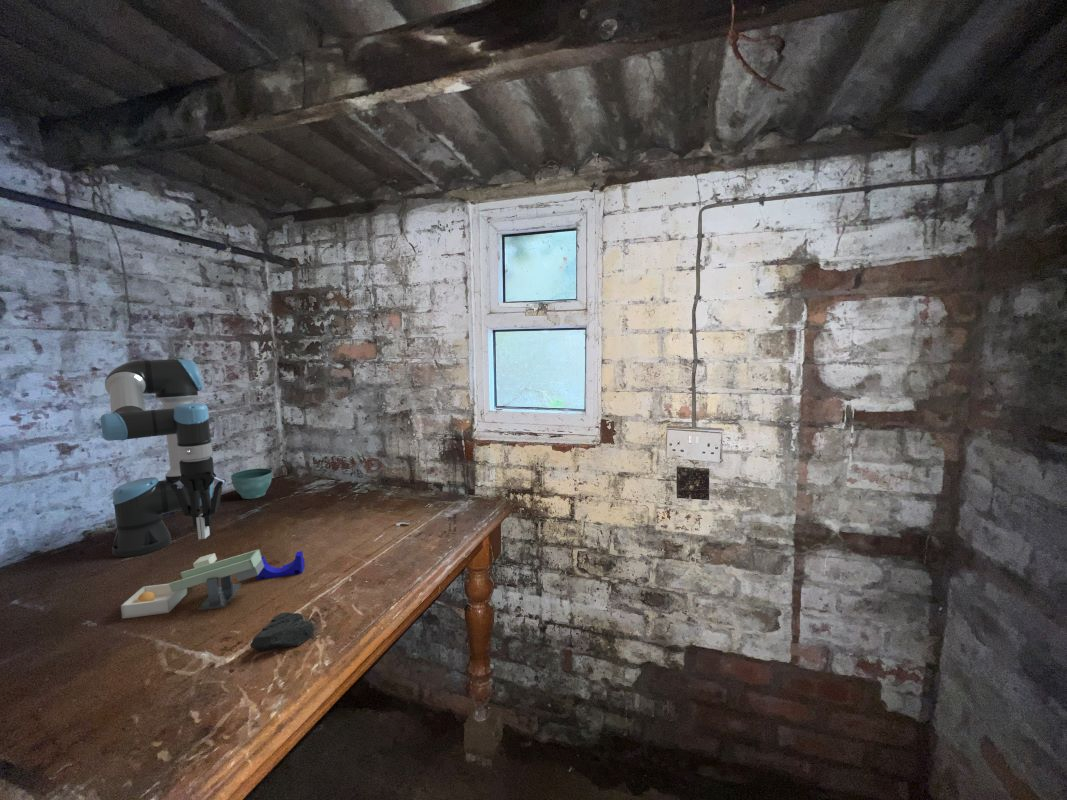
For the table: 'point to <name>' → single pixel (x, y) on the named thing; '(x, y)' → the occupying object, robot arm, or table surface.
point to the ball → (146, 597)
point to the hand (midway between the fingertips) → (204, 536)
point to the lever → (220, 569)
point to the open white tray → (161, 603)
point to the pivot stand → (219, 592)
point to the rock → (283, 632)
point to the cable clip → (283, 568)
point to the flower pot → (252, 482)
